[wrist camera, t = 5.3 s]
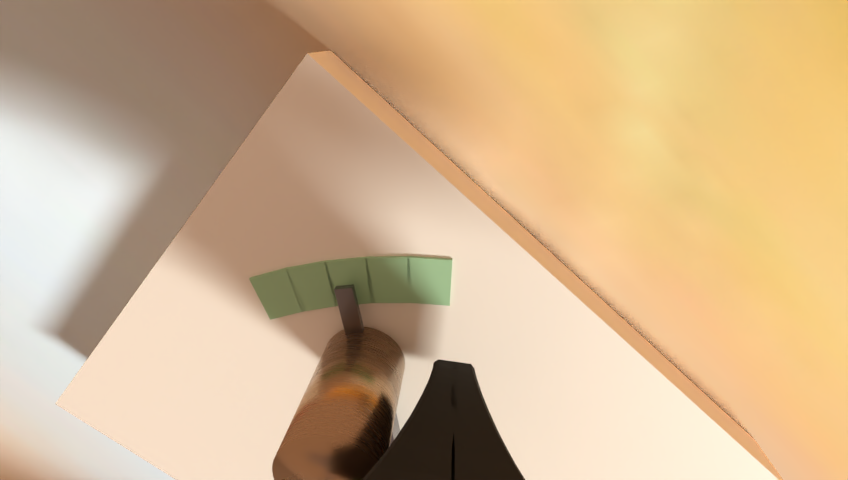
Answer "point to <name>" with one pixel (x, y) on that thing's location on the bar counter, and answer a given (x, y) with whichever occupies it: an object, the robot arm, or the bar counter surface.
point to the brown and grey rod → (345, 404)
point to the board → (382, 312)
